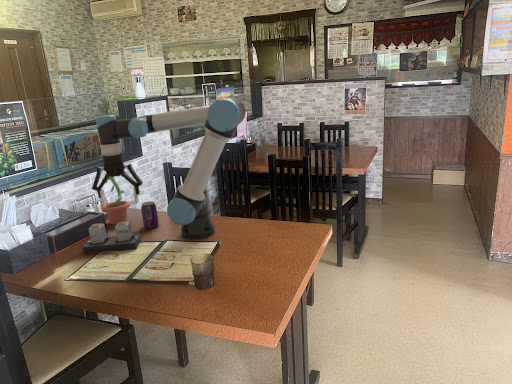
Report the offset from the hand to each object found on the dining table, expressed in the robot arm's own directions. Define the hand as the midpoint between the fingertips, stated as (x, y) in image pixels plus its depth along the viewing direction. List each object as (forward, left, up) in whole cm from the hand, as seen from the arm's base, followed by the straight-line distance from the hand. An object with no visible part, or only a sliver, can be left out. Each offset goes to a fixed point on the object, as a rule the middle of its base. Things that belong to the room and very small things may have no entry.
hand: (120, 203), depth 165 cm
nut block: (+1, 0, -19) cm, 19 cm away
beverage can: (-6, -22, -19) cm, 29 cm away
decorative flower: (+13, -34, -19) cm, 41 cm away
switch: (+6, 0, -19) cm, 20 cm away
